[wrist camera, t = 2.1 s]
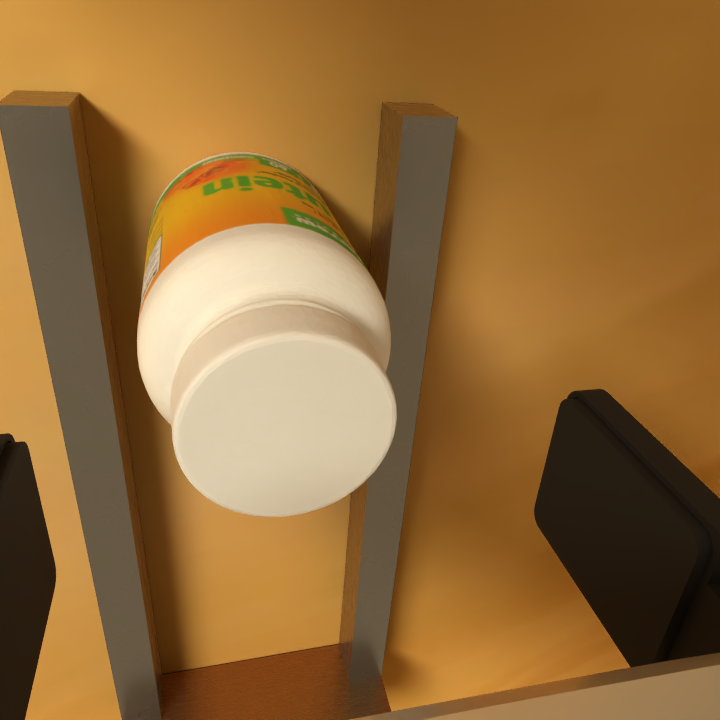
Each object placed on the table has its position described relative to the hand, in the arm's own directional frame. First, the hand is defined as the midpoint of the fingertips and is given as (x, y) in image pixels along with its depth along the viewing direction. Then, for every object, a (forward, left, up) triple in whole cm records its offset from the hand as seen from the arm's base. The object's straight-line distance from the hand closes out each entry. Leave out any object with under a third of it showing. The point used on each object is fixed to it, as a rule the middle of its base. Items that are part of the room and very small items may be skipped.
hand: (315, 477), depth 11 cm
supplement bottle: (-1, 0, -10) cm, 10 cm away
